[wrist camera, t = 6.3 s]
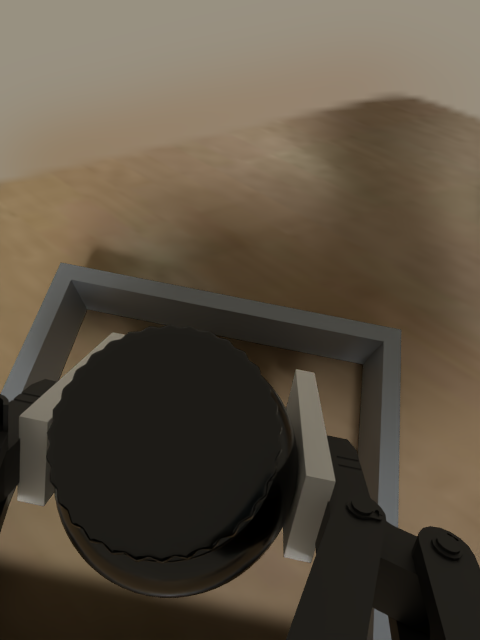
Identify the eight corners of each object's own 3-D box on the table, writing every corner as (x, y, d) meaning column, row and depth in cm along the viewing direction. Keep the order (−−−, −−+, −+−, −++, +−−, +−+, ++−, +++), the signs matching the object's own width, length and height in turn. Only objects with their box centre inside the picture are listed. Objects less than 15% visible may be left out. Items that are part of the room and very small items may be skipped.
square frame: (378, 353, 23) (401, 329, 20) (361, 771, 15) (393, 821, 13) (77, 293, 23) (60, 262, 21) (-82, 672, 16) (-141, 701, 13)
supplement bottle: (109, 421, 20) (-1, 298, 10) (249, 398, 21) (291, 262, 11) (118, 587, 17) (-26, 676, 7) (280, 552, 18) (381, 579, 8)
